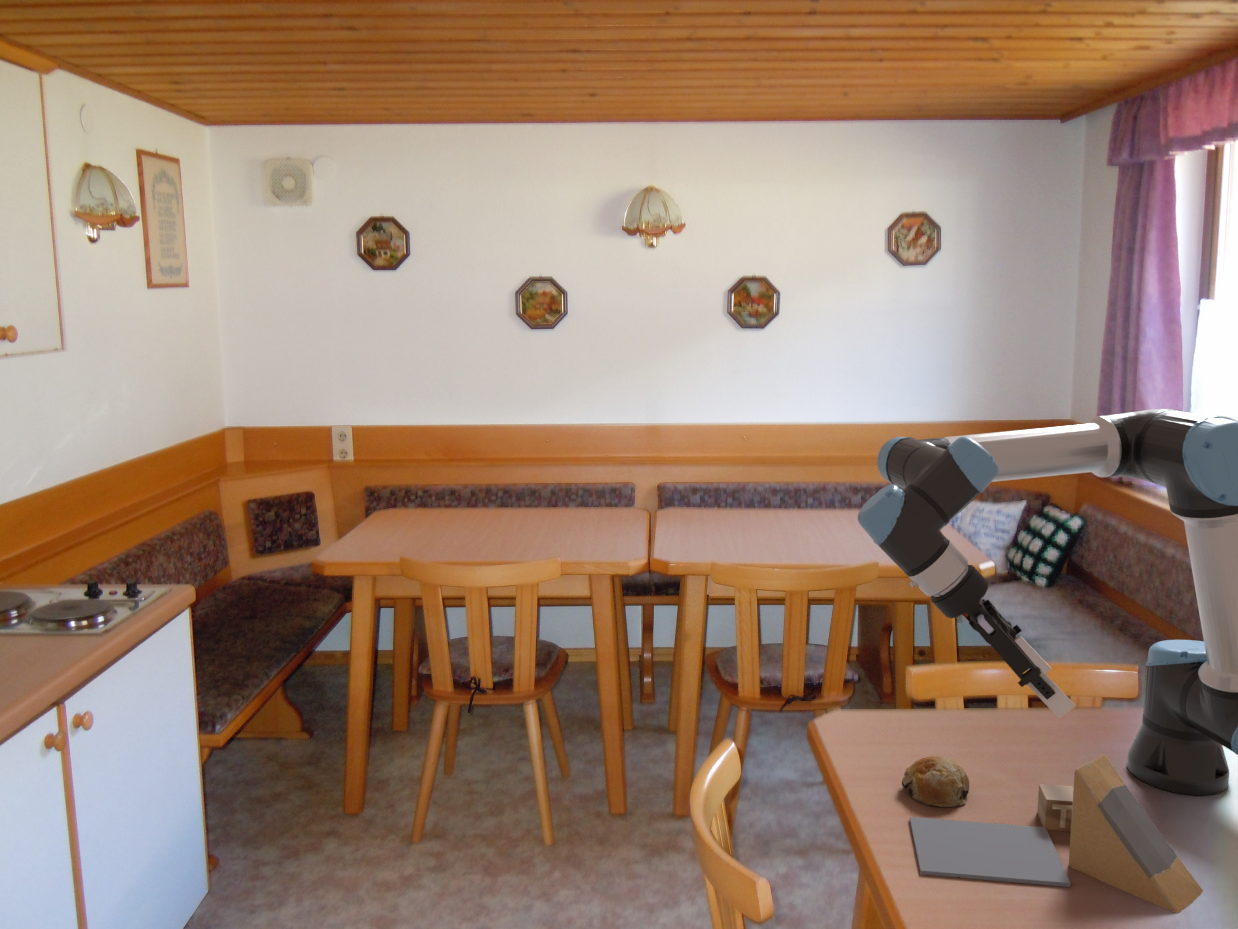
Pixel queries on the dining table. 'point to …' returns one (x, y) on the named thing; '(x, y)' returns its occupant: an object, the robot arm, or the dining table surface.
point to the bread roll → (937, 782)
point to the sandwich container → (1124, 841)
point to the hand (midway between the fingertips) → (1054, 692)
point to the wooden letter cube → (1055, 806)
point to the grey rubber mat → (987, 851)
